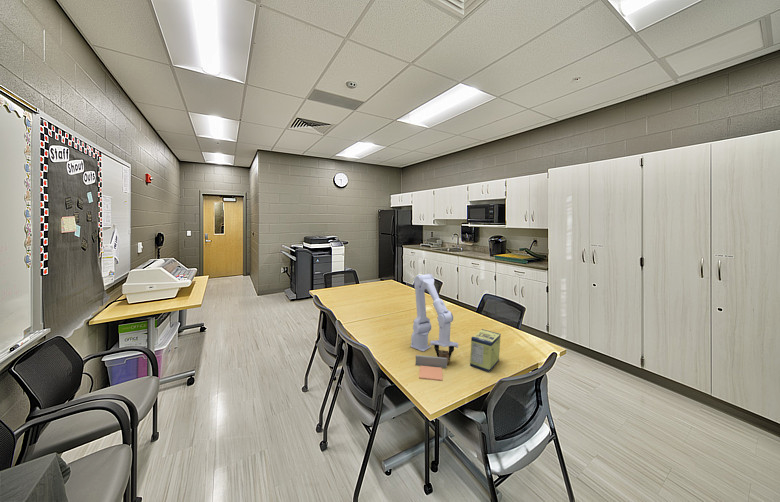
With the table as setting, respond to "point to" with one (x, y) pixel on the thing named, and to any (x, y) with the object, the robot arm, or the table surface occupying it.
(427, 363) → the slate screen
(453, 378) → the table surface
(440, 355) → the walnut cube
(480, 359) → the protein box
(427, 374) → the terracotta tile
